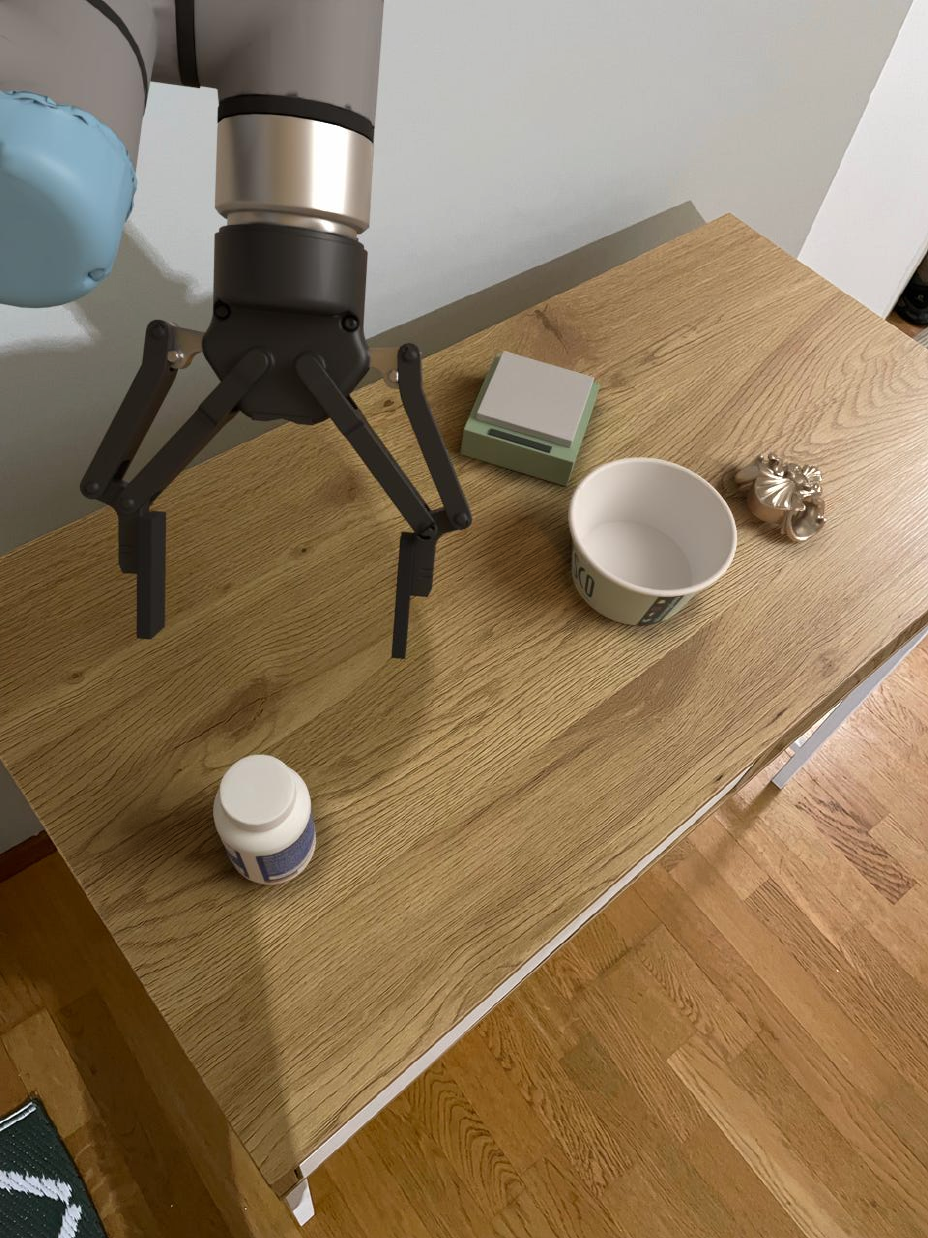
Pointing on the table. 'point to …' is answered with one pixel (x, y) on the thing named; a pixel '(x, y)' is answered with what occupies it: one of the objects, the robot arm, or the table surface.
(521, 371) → the scale
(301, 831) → the pill bottle
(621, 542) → the food container
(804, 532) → the ornament
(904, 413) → the table surface
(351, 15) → the robot arm
